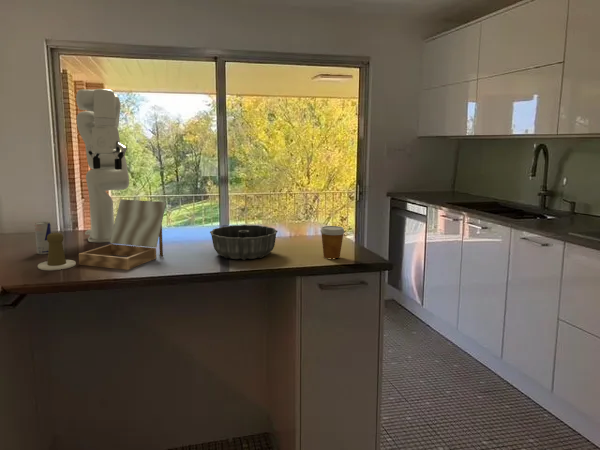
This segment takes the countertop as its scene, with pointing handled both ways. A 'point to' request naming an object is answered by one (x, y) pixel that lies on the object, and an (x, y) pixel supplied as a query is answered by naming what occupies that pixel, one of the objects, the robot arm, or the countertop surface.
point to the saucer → (46, 267)
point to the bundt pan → (243, 241)
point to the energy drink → (42, 236)
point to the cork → (55, 250)
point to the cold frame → (130, 236)
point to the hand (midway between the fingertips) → (107, 168)
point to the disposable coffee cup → (332, 241)
